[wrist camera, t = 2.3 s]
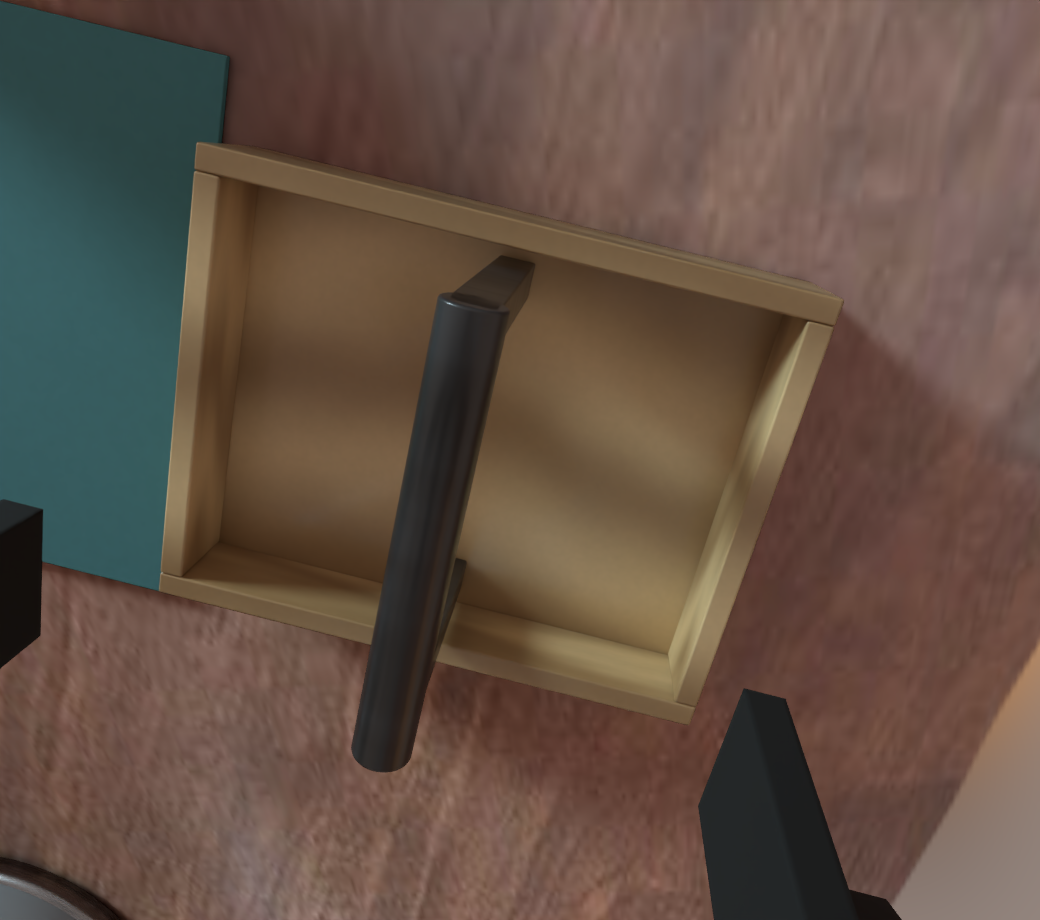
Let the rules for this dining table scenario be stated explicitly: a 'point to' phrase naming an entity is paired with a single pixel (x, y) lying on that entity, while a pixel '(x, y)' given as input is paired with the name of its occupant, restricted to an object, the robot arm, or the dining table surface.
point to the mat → (95, 277)
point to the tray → (558, 445)
